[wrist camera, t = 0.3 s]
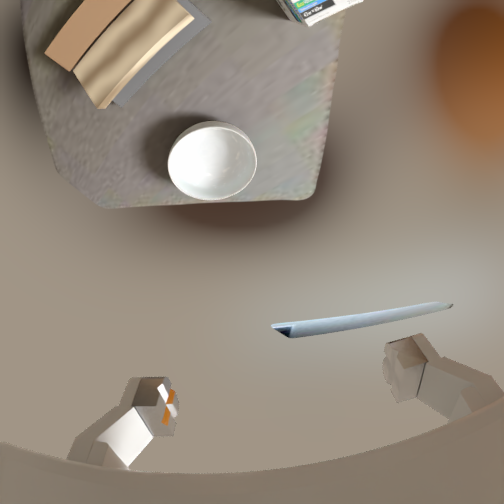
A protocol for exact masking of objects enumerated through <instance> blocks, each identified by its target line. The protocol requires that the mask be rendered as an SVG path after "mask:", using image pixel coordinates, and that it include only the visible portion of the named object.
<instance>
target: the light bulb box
mask: <svg viewBox="0 0 504 504" xmlns="http://www.w3.org/2000/svg"><path fill="white" fill-rule="evenodd" d="M276 1H277V2H278V4H279V5H280V7H281V8H282V9H283V11H284V12H285V14H286V15H287V17H288V18H289V19H290V21H293V22H296V23H299V24H301V25H304V26H307V27H311V26H313V25H315V24H317V23H318V22H320V21H322V20H324V19H326V18H327V17H329V16H331V15H333V14H335V13H337V12H339V11H342V10H344V9H346V8H349V7H351V6H354V5H356V4H359V3H362V2H363V0H276Z"/></svg>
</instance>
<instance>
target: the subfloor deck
mask: <svg viewBox="0 0 504 504" xmlns="http://www.w3.org/2000/svg"><path fill="white" fill-rule="evenodd" d="M133 1H134V0H84V1H83V3H82V4H81V5H80V6H79V7H78V9H77V10H76V11H75V12H74V13H73V15H72V16H71V17H70V18H69V20H68V21H67V22H66V24H65V25H64V26H63V28H62V29H61V30H60V32H59V33H58V34H57V36H56V37H55V38H54V40H53V41H52V43H51V44H50V46H49V47H48V48H47V50H46V51H45V54H46V55H47V56H49V57H50V58H51V59H53V60H54V61H56V62H57V63H58V64H60V65H61V66H62V67H64V68H65V69H66V70H68V71H69V72H70V71H71V70H72V71H73V70H74V69H75V68H76V66H77V65H78V64H79V62H80V61H81V60H82V58H83V57H84V56H85V55H86V53H87V52H88V51H89V50H90V48H91V47H92V46H93V45H94V44H95V42H96V41H97V40H98V39H99V38H100V37H101V35H102V34H103V33H104V32H105V31H106V30H107V29H108V27H109V26H110V25H111V24H112V23H113V22H114V21H115V20H116V19H117V18H118V17H119V16H120V15H121V13H122V12H123V11H124V10H125V9H126V8H127V7H128V6H129V5H130V4H131V3H132V2H133ZM177 1H178V2H179V3H180V4H181V5H182V6H183V7H184V8H185V9H186V10H187V11H188V12H189V13H190V14H191V15H192V16H193V17H194V18H195V19H194V20H192V21H191V22H190V23H189V24H188V25H187V26H185V27H184V28H183V29H182V30H181V31H180V32H179V33H177V34H176V35H175V36H174V37H173V38H172V39H171V40H170V41H169V42H167V43H166V44H165V45H164V46H163V47H162V48H161V49H160V50H159V51H158V52H157V53H156V54H155V55H154V56H153V57H152V58H151V59H150V60H149V61H148V62H147V63H146V64H145V65H144V66H143V67H142V68H141V69H140V70H139V71H138V72H137V73H136V74H135V75H134V76H133V77H132V78H131V80H130V81H129V82H128V83H127V84H126V85H125V86H124V87H123V88H122V90H121V91H120V92H119V93H118V94H117V95H116V96H115V98H114V99H113V100H112V101H113V102H115V103H116V104H117V105H119V106H120V107H121V108H122V107H123V106H124V104H125V103H126V102H127V101H128V100H129V99H130V98H131V97H132V96H133V95H134V93H135V92H136V91H137V90H138V89H139V88H140V87H141V86H142V85H143V84H144V83H145V82H146V81H147V80H148V79H149V78H150V77H151V76H152V75H153V74H154V73H155V72H156V71H157V70H158V69H159V68H160V67H161V66H162V65H163V64H164V63H165V62H166V61H167V60H168V59H169V58H170V57H172V56H173V55H174V54H175V53H176V52H177V51H178V50H179V49H180V48H181V47H183V46H184V45H185V44H186V43H187V42H188V41H189V40H191V39H192V38H193V37H194V36H195V35H196V34H198V33H199V32H200V31H201V30H202V29H204V28H205V27H206V26H207V25H209V24H210V23H211V20H210V19H209V18H208V17H207V16H206V15H205V14H204V13H202V12H201V11H200V10H199V9H198V8H197V7H196V6H195V5H194V4H193V3H191V2H190V1H189V0H177Z"/></svg>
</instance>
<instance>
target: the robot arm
mask: <svg viewBox="0 0 504 504" xmlns="http://www.w3.org/2000/svg"><path fill="white" fill-rule="evenodd" d="M384 352H385V354H386V357H385V358H384V360H383V374H384V377H385V380H386V381H387V383H388V384H390V385H392V388H391V392H392V394H393V396H394V398H395V400H396V402H397V403H399V402H402V401H406V400H409V399H412V398H415V397H417V399H419V400H420V401H422V402H423V403H425V404H426V405H428V406H429V407H431V408H432V409H434V410H436V411H437V412H439V413H440V414H442V415H443V416H445V417H446V418H448V419H449V421H448V423H447V424H446V425H443V426H441V427H438V428H436V429H433V430H431V431H428V432H426V433H423V434H420V435H418V436H415V437H412V438H409V439H406V440H403V441H400V442H397V443H394V444H391V445H387V446H384V447H381V448H377V449H374V450H370V451H366V452H363V453H359V454H355V455H351V456H347V457H342V458H338V459H333V460H328V461H324V462H318V463H313V464H308V465H301V466H295V467H287V468H280V469H271V470H263V471H250V472H236V473H213V474H211V473H210V474H188V473H187V474H185V473H160V472H147V471H136V470H130V469H129V468H128V466H129V465H130V464H131V462H132V461H133V460H134V459H135V458H136V457H137V456H138V455H139V453H140V452H141V451H142V450H143V449H144V448H145V446H146V445H147V444H148V443H149V442H150V441H151V440H152V438H153V436H173V435H174V431H175V426H176V422H175V420H174V417H175V416H177V414H178V411H179V401H178V398H177V395H176V392H175V391H174V390H172V389H171V382H170V380H169V378H168V377H132V378H130V379H129V381H128V383H127V386H126V388H125V391H124V393H123V396H122V399H121V401H120V404H119V406H116V407H114V408H113V409H111V410H110V411H109V412H108V413H106V414H105V415H104V416H103V417H102V418H100V419H99V420H97V421H96V422H95V423H93V424H92V425H91V426H90V427H88V428H87V429H86V430H84V431H83V432H82V433H81V434H79V435H78V436H77V437H76V438H75V440H74V442H73V445H72V447H71V449H70V452H69V454H68V457H67V459H62V458H58V457H54V456H50V455H46V454H42V453H39V452H35V451H31V450H28V449H25V448H22V447H18V446H15V445H12V444H10V443H7V442H0V504H504V392H503V391H502V389H501V388H500V387H499V385H498V384H497V383H496V381H495V380H494V379H493V378H492V376H490V375H488V374H485V373H483V372H480V371H478V370H475V369H473V368H471V367H468V366H466V365H463V364H460V363H458V362H456V361H453V360H451V359H448V358H446V357H442V358H441V357H440V356H439V354H438V353H437V352H436V350H435V349H434V348H433V347H432V345H431V344H430V342H429V341H428V340H427V338H426V337H425V336H424V335H423V334H422V333H419V334H416V335H413V336H410V337H406V338H403V339H399V340H395V341H392V342H388V343H386V344H385V349H384Z"/></svg>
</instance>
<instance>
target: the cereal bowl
mask: <svg viewBox="0 0 504 504" xmlns="http://www.w3.org/2000/svg"><path fill="white" fill-rule="evenodd" d="M256 166H257V157H256V153H255V149H254V147H253V145H252V143H251V141H250V139H249V138H248V137H247V135H246V134H245V133H244V132H243V131H241V130H240V129H238V128H237V127H236V126H233V125H231V124H229V123H226V122H221V121H206V122H201V123H198V124H195V125H193V126H191V127H189V128H188V129H187V130H185V131H184V132H183V133H181V134H180V136H178V138H177V139H176V141H175V142H174V144H173V145H172V148H171V150H170V153H169V157H168V172H169V175H170V178H171V180H172V182H173V183H174V184H175V186H176V187H177V188H178V189H179V190H181V191H182V192H183V193H185V194H187V195H189V196H191V197H194V198H197V199H202V200H218V199H223V198H227V197H230V196H232V195H234V194H236V193H238V192H239V191H241V190H242V189H243V188H245V187H246V186H247V185H248V183H249V182H250V181H251V179H252V178H253V176H254V173H255V171H256Z"/></svg>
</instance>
